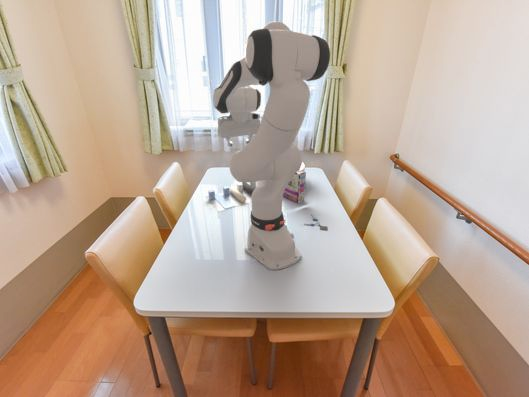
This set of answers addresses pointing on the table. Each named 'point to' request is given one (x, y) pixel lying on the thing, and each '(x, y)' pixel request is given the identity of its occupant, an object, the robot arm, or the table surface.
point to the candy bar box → (296, 187)
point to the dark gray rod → (248, 188)
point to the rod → (237, 194)
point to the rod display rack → (229, 197)
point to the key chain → (318, 225)
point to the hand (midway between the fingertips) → (239, 144)
